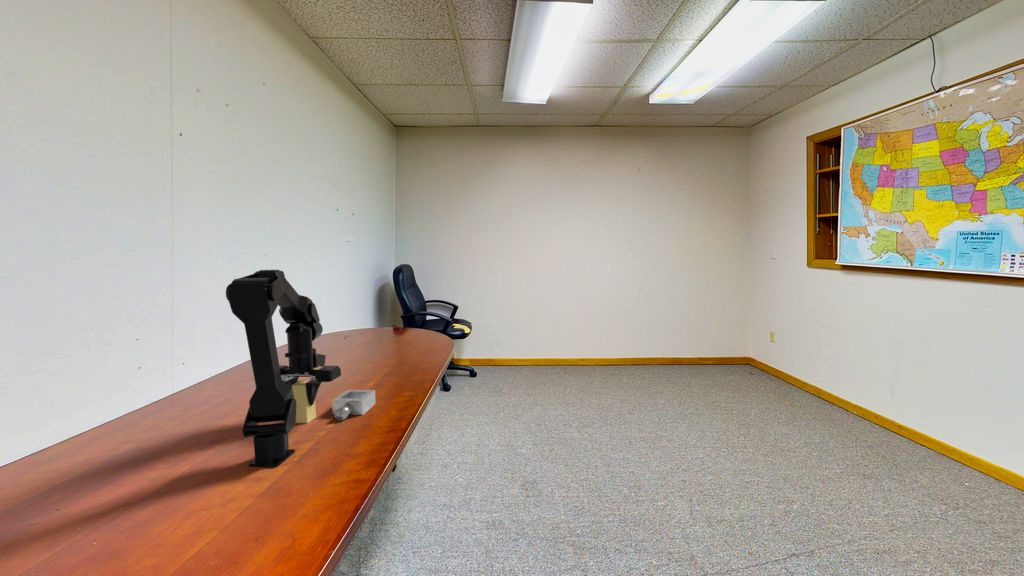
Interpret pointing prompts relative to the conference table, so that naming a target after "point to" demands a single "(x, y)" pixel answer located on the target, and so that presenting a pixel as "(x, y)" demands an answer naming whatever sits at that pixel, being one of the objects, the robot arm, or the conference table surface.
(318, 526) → the conference table surface
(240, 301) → the robot arm
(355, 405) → the bracket head
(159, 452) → the conference table surface
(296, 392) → the butter yellow block
